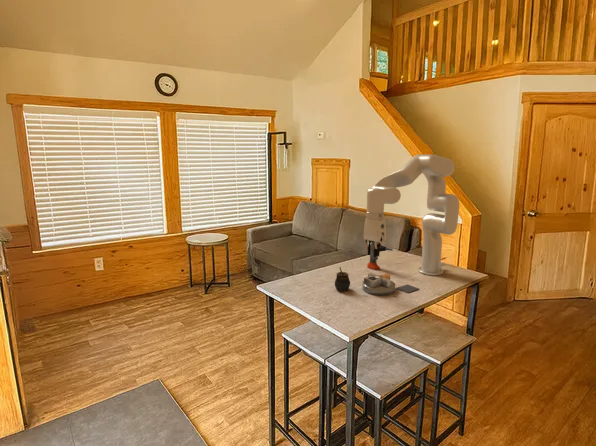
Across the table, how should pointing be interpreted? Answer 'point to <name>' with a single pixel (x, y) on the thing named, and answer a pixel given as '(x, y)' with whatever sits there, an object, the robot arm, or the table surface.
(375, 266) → the toy drill
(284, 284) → the table surface
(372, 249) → the grey pestle
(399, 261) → the table surface
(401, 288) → the mat
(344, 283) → the mate gourd
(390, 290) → the chuck base
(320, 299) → the table surface
